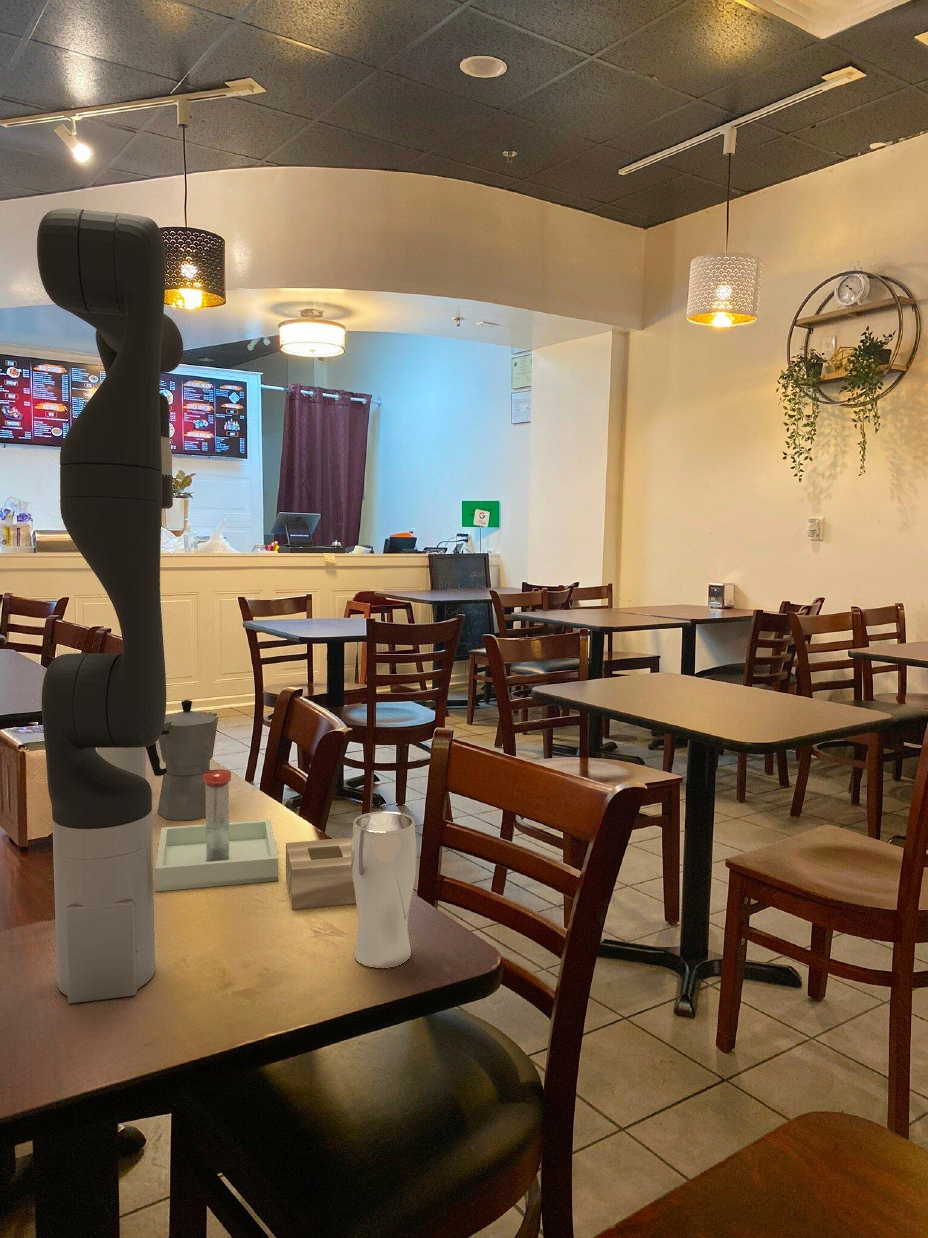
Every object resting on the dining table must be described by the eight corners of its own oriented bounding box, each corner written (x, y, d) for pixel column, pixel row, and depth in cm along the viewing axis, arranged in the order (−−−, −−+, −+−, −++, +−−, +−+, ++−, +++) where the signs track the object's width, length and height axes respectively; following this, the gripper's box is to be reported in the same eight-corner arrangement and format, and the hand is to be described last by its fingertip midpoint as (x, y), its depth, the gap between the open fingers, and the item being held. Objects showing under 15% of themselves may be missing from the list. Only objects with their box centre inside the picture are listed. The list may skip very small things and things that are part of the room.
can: (97, 792, 149) (95, 722, 148) (144, 787, 152) (142, 719, 151) (99, 805, 142) (97, 732, 141) (148, 800, 145) (147, 729, 144)
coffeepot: (194, 795, 148) (192, 690, 146) (239, 804, 144) (238, 695, 142) (123, 823, 134) (120, 707, 132) (171, 834, 131) (169, 714, 128)
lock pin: (231, 863, 118) (231, 776, 117) (203, 865, 118) (202, 777, 116) (231, 853, 122) (230, 768, 121) (204, 855, 121) (203, 770, 120)
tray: (278, 880, 115) (278, 858, 114) (155, 891, 111) (155, 868, 110) (270, 839, 129) (270, 819, 129) (162, 848, 125) (161, 827, 125)
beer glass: (343, 945, 98) (344, 814, 96) (404, 936, 100) (406, 808, 99) (358, 976, 91) (360, 836, 90) (423, 965, 94) (425, 828, 92)
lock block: (366, 902, 109) (366, 863, 108) (292, 909, 106) (292, 869, 106) (354, 873, 117) (355, 837, 117) (286, 880, 115) (285, 842, 114)
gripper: (170, 470, 111) (172, 599, 113) (174, 475, 125) (176, 589, 127) (105, 468, 109) (109, 599, 111) (117, 473, 123) (120, 589, 125)
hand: (144, 594), depth 119 cm, fingers open, 8 cm apart
